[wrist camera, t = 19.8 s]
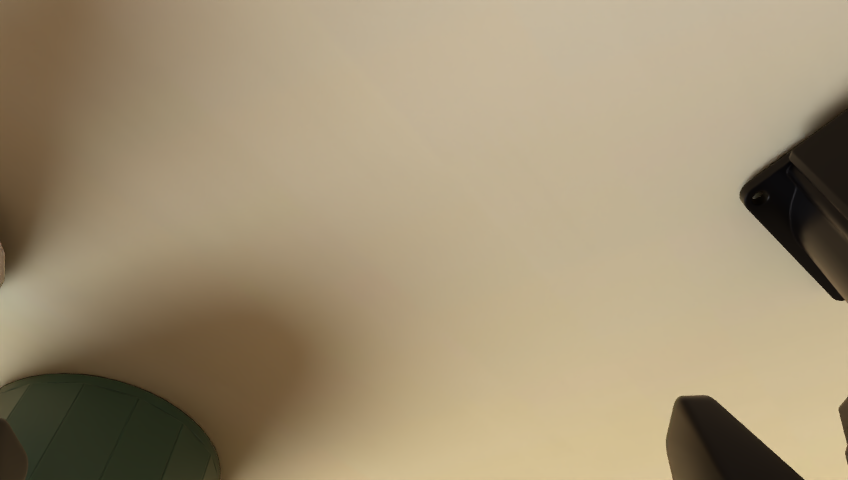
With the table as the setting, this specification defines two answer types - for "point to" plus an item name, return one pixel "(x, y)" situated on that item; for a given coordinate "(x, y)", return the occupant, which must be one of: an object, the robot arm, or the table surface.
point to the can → (2, 265)
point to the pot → (103, 431)
